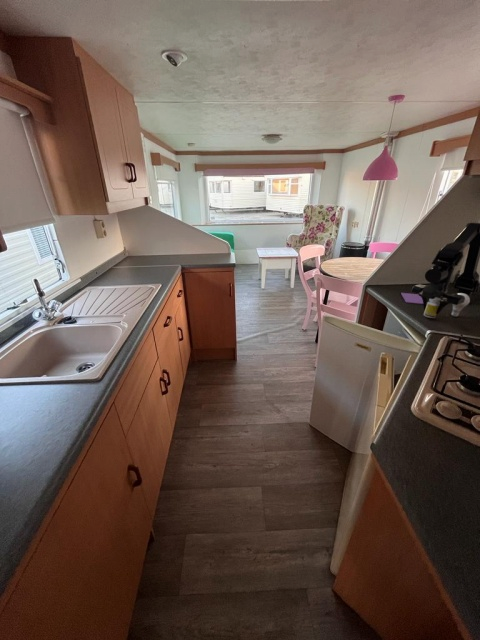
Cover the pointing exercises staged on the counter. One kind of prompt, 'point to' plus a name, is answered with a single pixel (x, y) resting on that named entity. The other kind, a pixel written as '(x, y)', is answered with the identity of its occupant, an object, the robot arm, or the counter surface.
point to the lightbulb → (460, 305)
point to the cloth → (412, 298)
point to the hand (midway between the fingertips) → (430, 311)
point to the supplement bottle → (432, 307)
